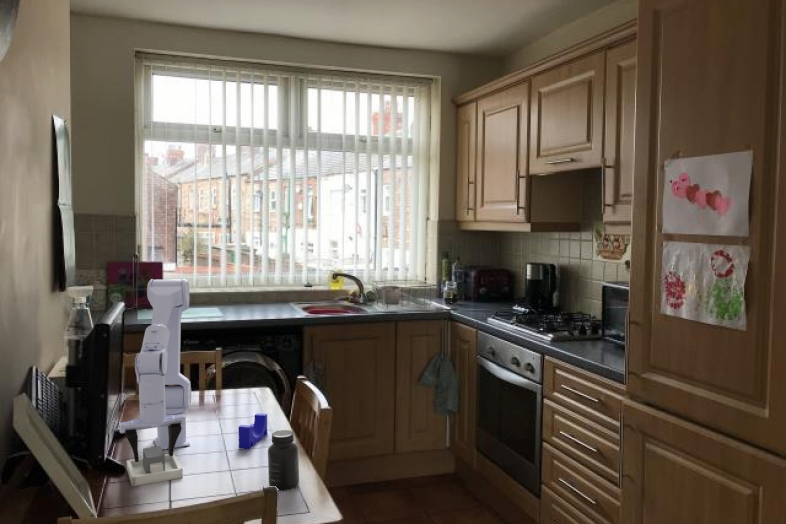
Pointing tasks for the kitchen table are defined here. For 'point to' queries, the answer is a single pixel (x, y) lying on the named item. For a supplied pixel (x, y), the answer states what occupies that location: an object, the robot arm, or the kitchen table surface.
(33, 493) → the kitchen table surface
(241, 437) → the blue u-shaped cradle block
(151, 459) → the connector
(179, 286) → the robot arm
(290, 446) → the supplement bottle
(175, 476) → the tray
